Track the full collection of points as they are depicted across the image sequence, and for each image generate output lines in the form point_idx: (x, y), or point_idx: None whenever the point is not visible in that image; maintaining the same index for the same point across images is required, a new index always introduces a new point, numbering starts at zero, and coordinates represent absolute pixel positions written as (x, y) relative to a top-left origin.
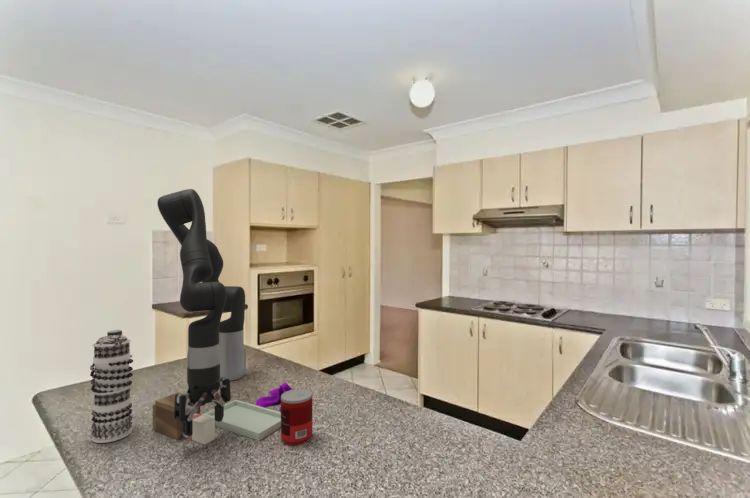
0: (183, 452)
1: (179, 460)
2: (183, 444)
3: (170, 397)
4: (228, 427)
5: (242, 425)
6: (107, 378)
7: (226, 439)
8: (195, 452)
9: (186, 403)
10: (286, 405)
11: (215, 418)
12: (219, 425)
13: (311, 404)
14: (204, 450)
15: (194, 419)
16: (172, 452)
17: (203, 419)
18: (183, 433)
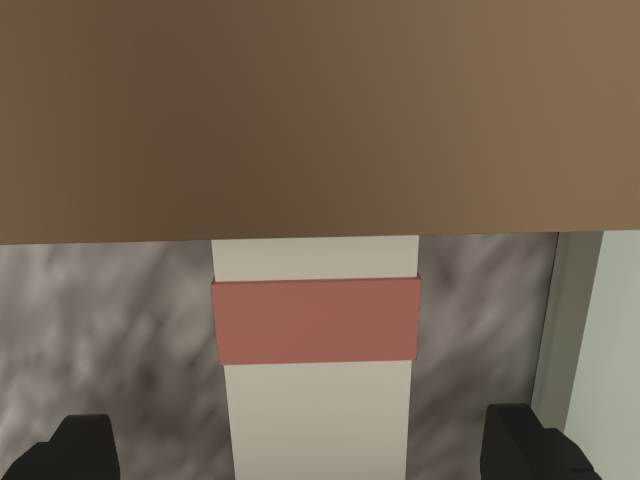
0: (94, 366)
1: (21, 433)
2: (160, 256)
3: None
4: (546, 394)
5: (628, 449)
6: None
7: (410, 468)
8: (155, 436)
9: (258, 197)
10: None
11: (497, 425)
12: (561, 272)
13: None
14: (213, 463)
15: (257, 379)
16: (30, 294)
17: (325, 471)
18: (37, 447)
